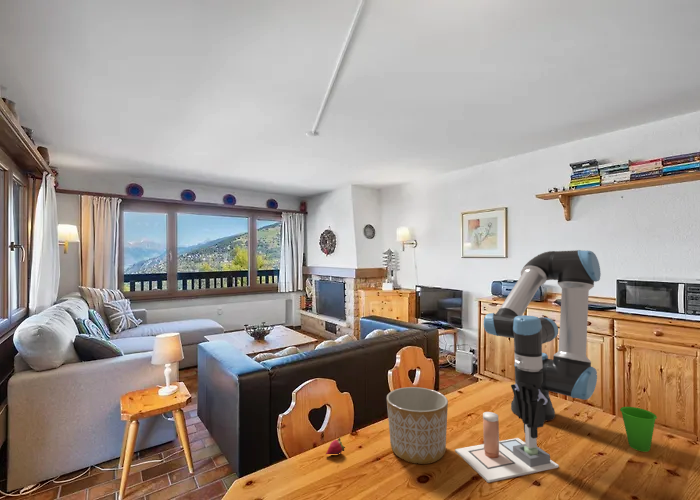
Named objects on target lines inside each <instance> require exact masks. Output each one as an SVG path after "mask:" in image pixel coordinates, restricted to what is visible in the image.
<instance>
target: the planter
mask: <svg viewBox="0 0 700 500" xmlns="http://www.w3.org/2000/svg"><path fill="white" fill-rule="evenodd" d="M448 400H449V399H448V398H447V397H446V396H445V395H444V394H443V393H441V392H439V391H436V390H434V389H430V388H426V387H419V386H417V387H416V386H415V387H414V386H408V387H406V386H405V387H400V388H396V389H394V390H391V391H390V392H389V393H388V394H387V395H386V406H387V407H386V408H387V418H388V419H387V420H388V429H389V440H390V447H391V449H392V452H393V453H394V454H395V455H396V456H397V457H399V458H400V459H401V458H402V459H401V460H403V459H404V461H405V460H406V461H405V462H408V461H409V463H411V462H412V464H417V463H418V464H421V465H426V464H432V463H435V462H437V461H439V460H441V459H442V458H443V456H444V455H445V453H446V448H447V429H448V428H447V427H448V425H447V424H448V408H449V406H448V405H449V404H448V403H449V401H448Z"/></svg>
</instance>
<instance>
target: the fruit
mask: <svg viewBox="0 0 700 500" xmlns="http://www.w3.org/2000/svg"><path fill="white" fill-rule="evenodd" d="M327 448H328V449H327V451H326V453H325V455H326V454H339V453H340V454H341V453H342V451H344V452H345V449H346V447H345V446H344V445H343V443H342V441H341V437H339V438H338V439H335V440H332V441H331V443H330V444H329V447H327ZM340 454H339V455H340Z"/></svg>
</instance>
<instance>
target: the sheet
mask: <svg viewBox="0 0 700 500" xmlns="http://www.w3.org/2000/svg"><path fill="white" fill-rule="evenodd" d="M522 444H526V443H525V441H523V440H522V439H520V438H519V437H515V438H510V439H503V440H499V457H498V458H489V457H487V456H486V455H485V450H484V443H481V444H478V445H477V444H476V445H471V446H466V447H459V448H456V449H454V452H455V453H456V454H457V455H458V456H459V457H461V458H462V459H463V461H465V462H466V463H467V464H468V465H469V466H470V467H471V468H472V469H473V470H474V471H475V472H476V473H478V475H479V476H480V477H482V479H483V480H485V481H486V483H493V482H498V481H503V480H506V479H512V478H517V477H520V476H521V477H522V476H525V475H526V476H527V475H530V474H534V473H535V474H536V473H538V472H539V473H540V472H544V471H548V470H553V469H557V468H559V466H560V465H559V464H558V463H556V462H555V461H553V460H552V459H550V463H549V464H544V465H539V466H535V467H530V466H528V465H527V464H526V463H524V462H523V461H522V460H520V459H519V458H518V457H516V456H515V455H514V454H513V446H517V445H522Z"/></svg>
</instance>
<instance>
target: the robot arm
mask: <svg viewBox="0 0 700 500" xmlns="http://www.w3.org/2000/svg"><path fill="white" fill-rule="evenodd" d="M601 275H602V274H601V267H600V262H599V259H598V257H597V255H596V253H594V251H591V250H583V249H582V250H581V249H578V250H577V249H576V250H559V251H557V250H556V251H555V250H549V251H544V252H542V253H540V254H538V255H536V256H534V257H533V258H532V259H530V260H529V261H528V262H527V263H526V264H525V265H524V266H523V268H522V269H521V270H520V277H519V279H518V280H517V281H516V282H515V284H514V286H513V287H512V289H511V291H510V292H509V293H508V295H507V297H506V298H505V300H504V301H503V303H502V304H501V306H500V307H499V309H498V310H497V312H496V313H495V312H491V313H487V314H486V315H485V316H484V319H483V328H484V331H485V332H486V333H487V334H488V335H492V336H493V335H494V336H497V337H504V338H511V339H513V345H514V346H513V347H514V348H513V349H514V350H513V351H514V365H513V366H514V379H515V381H514V382H515V383H514V384H511V385H510V387H511V390H512V392H513V398H512V401H511V402H510V403H511V404H510V406H511V407H510V409H511V410H510V411H512V413H513V414H514V415H516V416H517V417H518V419H521V420H522V423H523V432H524V437H525V438H524V440H525V441H524V442H525V443H526V447H528V448H529V449H530V448H535V447H538V445H537V443H538V442H537V439H538V428H543V427H544V425H545V422H548V421H549V422H550V421H552V420H554V419H555V417H556V414H555V413H556V412H555V408H554V406H553V402H552V400H551V397H550V393H549V392H552V393H556V394H559V395H563V396H566V397H570V398H573V399H580V400H582V401H584V400H589V399H591V397H592V396H593V395H594V392H595V389H596V387H597V386H596V385H597V381H598V380H597V379H598V372H597V369H596V368H595V367H594V366H592V361H591V360H590V359H589V358H588V357H587V344H588V343H587V339H588V338H587V337H588V320H589V319H588V317H589V316H588V313H589V295H590V294H589V292H590V290H592V289H593V288H594V287H595V283H596V282H599V281H600V280H601ZM552 280H553V281H557V285H558V286H559V287H560V288H561V297H560V315H559V317H560V318H559V326H558V325H557V323H556V322H555V321H554V320H553V319H552V318H549V317H538V316H535V315H524V314H525V312H526V311H527V308H528V307H529V305H530V303H531V301H532V300H533V298H534V296H535V295H536V293H537V292H538V290H539V288H540V286H543V285H544V284H545V283H546V282H547V281H552ZM558 335H559V336H558ZM557 336H558V351H557V352H556V353H554V354H553V357H552V358H553V359H550V358H549V355H548V354H547V353H544V352H543V344H546V343H549V342H552V341H553V340H554V339H556V337H557Z"/></svg>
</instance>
